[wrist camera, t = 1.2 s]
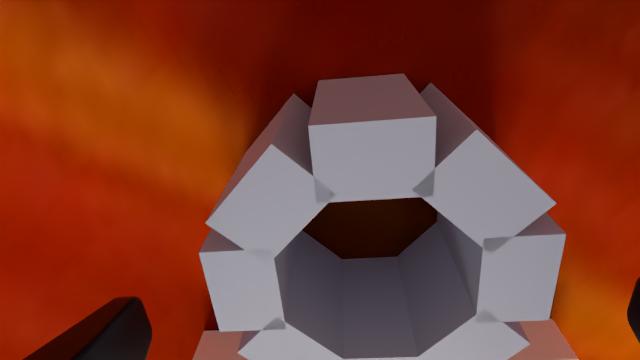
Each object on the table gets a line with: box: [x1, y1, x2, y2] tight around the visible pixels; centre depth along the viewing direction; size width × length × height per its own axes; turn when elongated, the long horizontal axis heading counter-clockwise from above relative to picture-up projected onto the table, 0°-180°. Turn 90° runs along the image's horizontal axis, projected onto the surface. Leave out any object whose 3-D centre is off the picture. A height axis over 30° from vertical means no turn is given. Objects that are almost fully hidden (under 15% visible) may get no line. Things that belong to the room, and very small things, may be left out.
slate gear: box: [199, 73, 566, 360], centre depth 9 cm, size 7×7×4 cm
